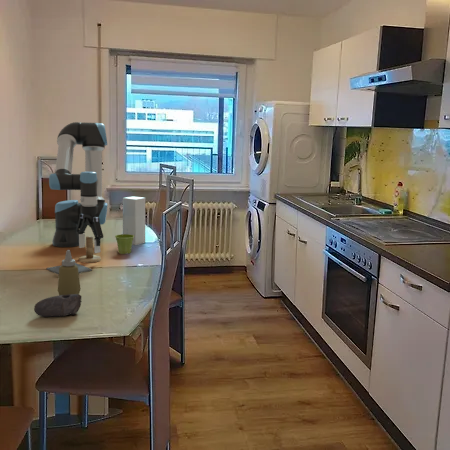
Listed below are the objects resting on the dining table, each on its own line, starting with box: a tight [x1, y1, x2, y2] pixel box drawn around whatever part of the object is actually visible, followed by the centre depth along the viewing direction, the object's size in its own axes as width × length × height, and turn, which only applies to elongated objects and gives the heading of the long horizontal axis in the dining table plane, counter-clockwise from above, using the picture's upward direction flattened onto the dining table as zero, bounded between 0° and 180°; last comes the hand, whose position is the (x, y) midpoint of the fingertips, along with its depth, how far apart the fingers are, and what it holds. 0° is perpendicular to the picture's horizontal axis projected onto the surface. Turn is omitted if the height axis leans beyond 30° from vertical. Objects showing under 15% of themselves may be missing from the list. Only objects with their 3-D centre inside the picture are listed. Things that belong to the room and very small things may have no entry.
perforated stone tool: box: [33, 293, 82, 318], centre depth 168 cm, size 15×5×7 cm, turn 107°
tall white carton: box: [122, 195, 146, 246], centre depth 278 cm, size 9×9×25 cm
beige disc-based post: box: [78, 235, 102, 264], centre depth 240 cm, size 10×10×11 cm
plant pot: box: [114, 233, 134, 255], centre depth 256 cm, size 9×9×9 cm
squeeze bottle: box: [57, 249, 81, 296], centre depth 184 cm, size 8×8×18 cm
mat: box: [46, 262, 93, 276], centre depth 223 cm, size 14×14×1 cm
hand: (89, 250), depth 240 cm, fingers open, 13 cm apart
